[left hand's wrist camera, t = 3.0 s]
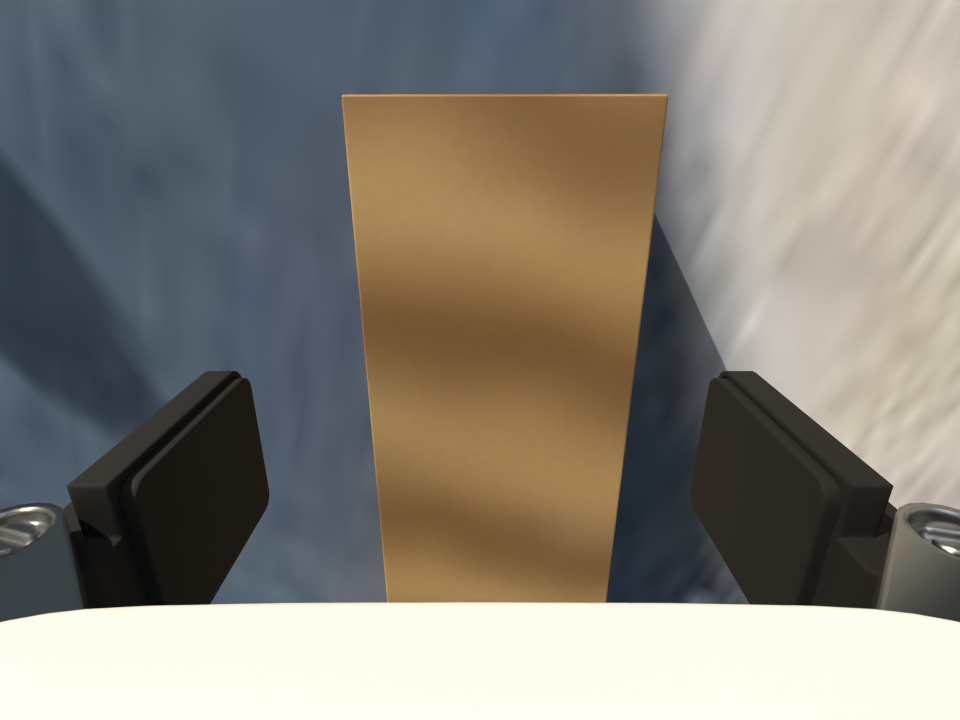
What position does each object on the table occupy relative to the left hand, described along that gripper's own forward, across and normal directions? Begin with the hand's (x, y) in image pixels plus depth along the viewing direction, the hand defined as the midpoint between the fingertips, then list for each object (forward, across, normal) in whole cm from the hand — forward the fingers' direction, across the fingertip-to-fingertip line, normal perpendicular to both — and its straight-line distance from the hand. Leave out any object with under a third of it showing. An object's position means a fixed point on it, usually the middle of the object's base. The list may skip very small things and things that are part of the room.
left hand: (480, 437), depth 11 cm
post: (+9, +1, -26) cm, 27 cm away
